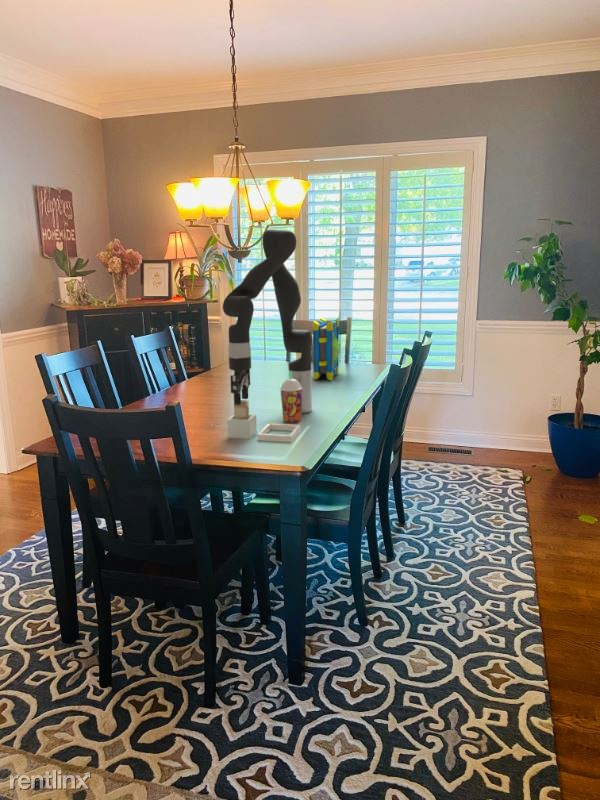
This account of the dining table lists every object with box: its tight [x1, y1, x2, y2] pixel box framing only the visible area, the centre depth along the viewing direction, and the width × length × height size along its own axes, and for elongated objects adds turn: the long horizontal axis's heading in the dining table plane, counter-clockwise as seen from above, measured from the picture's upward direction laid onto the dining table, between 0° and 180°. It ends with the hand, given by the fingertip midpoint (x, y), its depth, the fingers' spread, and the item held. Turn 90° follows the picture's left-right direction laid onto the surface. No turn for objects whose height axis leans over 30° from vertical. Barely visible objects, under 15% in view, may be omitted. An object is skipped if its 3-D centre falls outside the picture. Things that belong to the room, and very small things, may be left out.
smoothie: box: [279, 371, 302, 424], centre depth 222 cm, size 8×8×20 cm
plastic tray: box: [256, 423, 302, 443], centre depth 206 cm, size 14×12×3 cm
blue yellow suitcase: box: [312, 317, 341, 382], centre depth 306 cm, size 14×23×30 cm, turn 166°
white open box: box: [226, 413, 258, 440], centre depth 206 cm, size 8×8×8 cm
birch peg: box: [233, 399, 250, 420], centre depth 205 cm, size 4×4×12 cm
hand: (241, 401), depth 204 cm, fingers open, 8 cm apart
